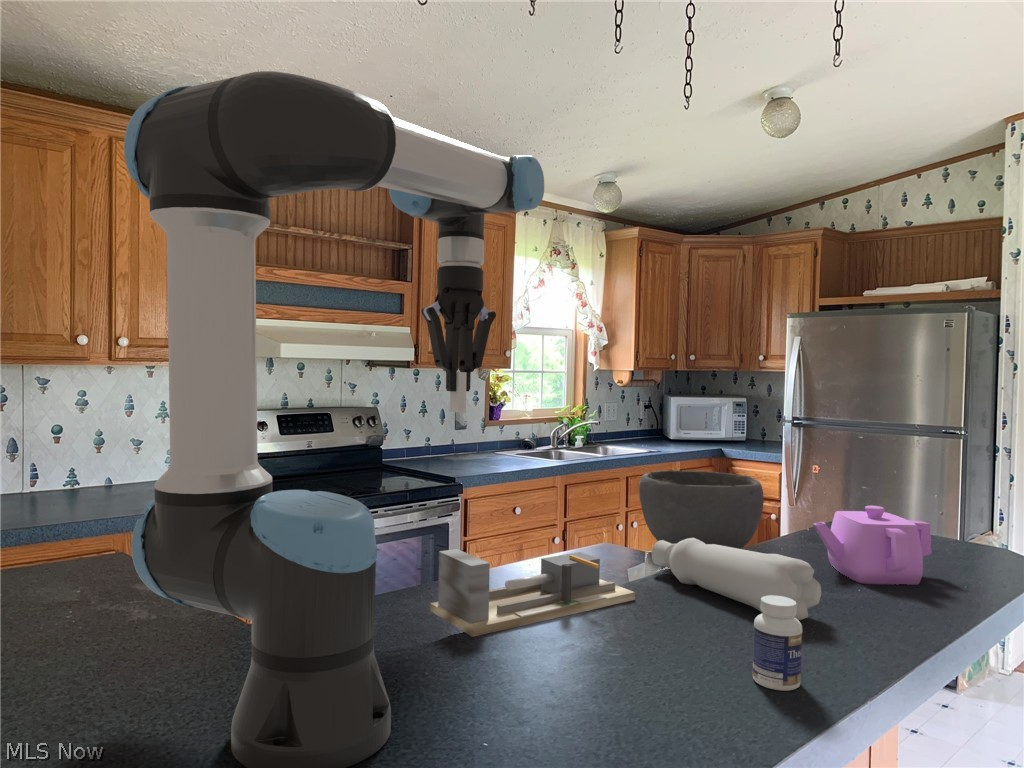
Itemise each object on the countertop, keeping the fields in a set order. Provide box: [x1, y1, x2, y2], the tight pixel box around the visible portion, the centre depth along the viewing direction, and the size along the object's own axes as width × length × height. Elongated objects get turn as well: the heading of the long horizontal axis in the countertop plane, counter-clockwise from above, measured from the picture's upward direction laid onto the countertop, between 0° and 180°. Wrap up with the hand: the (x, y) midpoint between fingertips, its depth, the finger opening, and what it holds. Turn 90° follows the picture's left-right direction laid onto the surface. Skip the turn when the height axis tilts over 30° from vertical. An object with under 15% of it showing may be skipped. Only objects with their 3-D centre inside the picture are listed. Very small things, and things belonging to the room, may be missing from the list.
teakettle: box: [812, 505, 933, 586], centre depth 134 cm, size 17×17×12 cm
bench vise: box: [429, 548, 636, 638], centre depth 113 cm, size 12×30×9 cm, turn 125°
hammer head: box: [562, 564, 572, 603], centre depth 110 cm, size 1×1×5 cm
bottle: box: [651, 538, 822, 622], centre depth 120 cm, size 9×9×30 cm
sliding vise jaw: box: [504, 551, 601, 594], centre depth 113 cm, size 9×16×5 cm, turn 125°
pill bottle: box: [752, 595, 803, 692], centre depth 87 cm, size 5×5×10 cm
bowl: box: [638, 469, 765, 549], centre depth 148 cm, size 24×24×15 cm
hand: (457, 411), depth 120 cm, fingers closed
